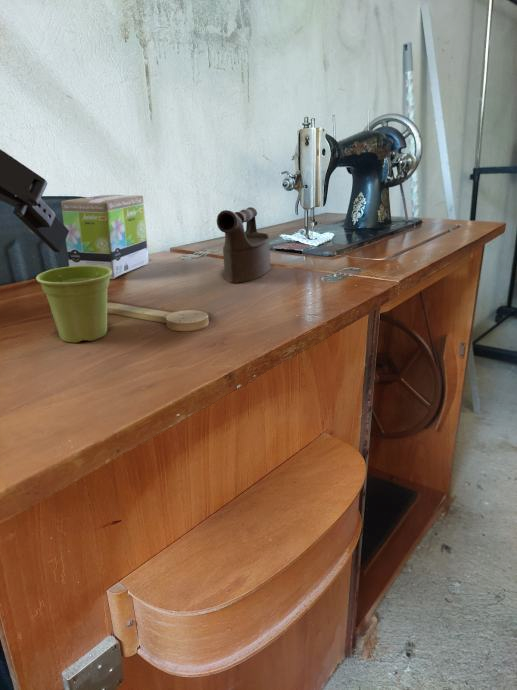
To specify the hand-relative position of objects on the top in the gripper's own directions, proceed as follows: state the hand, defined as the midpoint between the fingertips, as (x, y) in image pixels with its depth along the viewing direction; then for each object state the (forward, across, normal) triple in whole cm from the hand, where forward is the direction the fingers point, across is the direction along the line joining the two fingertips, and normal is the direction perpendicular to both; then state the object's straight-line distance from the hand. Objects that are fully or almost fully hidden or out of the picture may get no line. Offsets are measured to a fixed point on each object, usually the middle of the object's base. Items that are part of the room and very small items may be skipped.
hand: (11, 239), depth 57 cm
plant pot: (+17, 0, -4) cm, 18 cm away
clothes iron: (+43, +8, +23) cm, 50 cm away
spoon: (+24, +4, +3) cm, 24 cm away
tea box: (+42, -20, +21) cm, 51 cm away
